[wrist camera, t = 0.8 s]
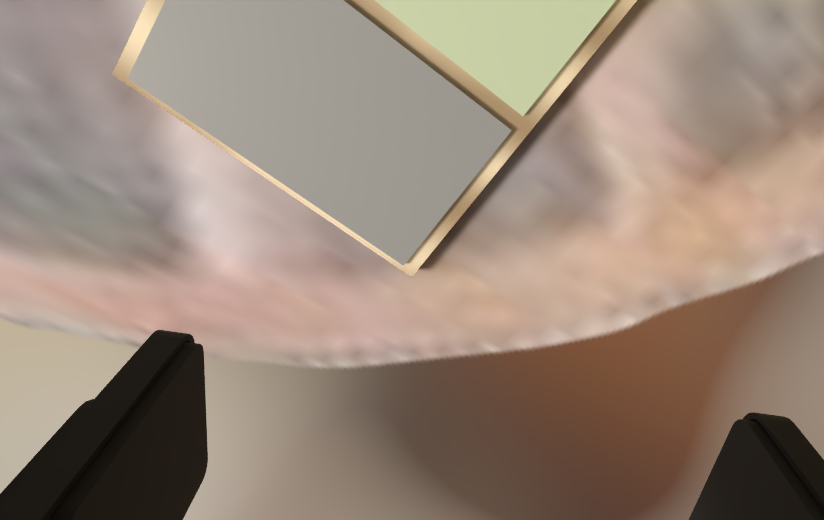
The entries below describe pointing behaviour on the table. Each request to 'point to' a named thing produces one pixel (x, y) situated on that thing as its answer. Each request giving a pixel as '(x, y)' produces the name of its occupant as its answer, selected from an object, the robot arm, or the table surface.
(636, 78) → the table surface
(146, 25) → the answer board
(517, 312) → the table surface
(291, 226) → the table surface
